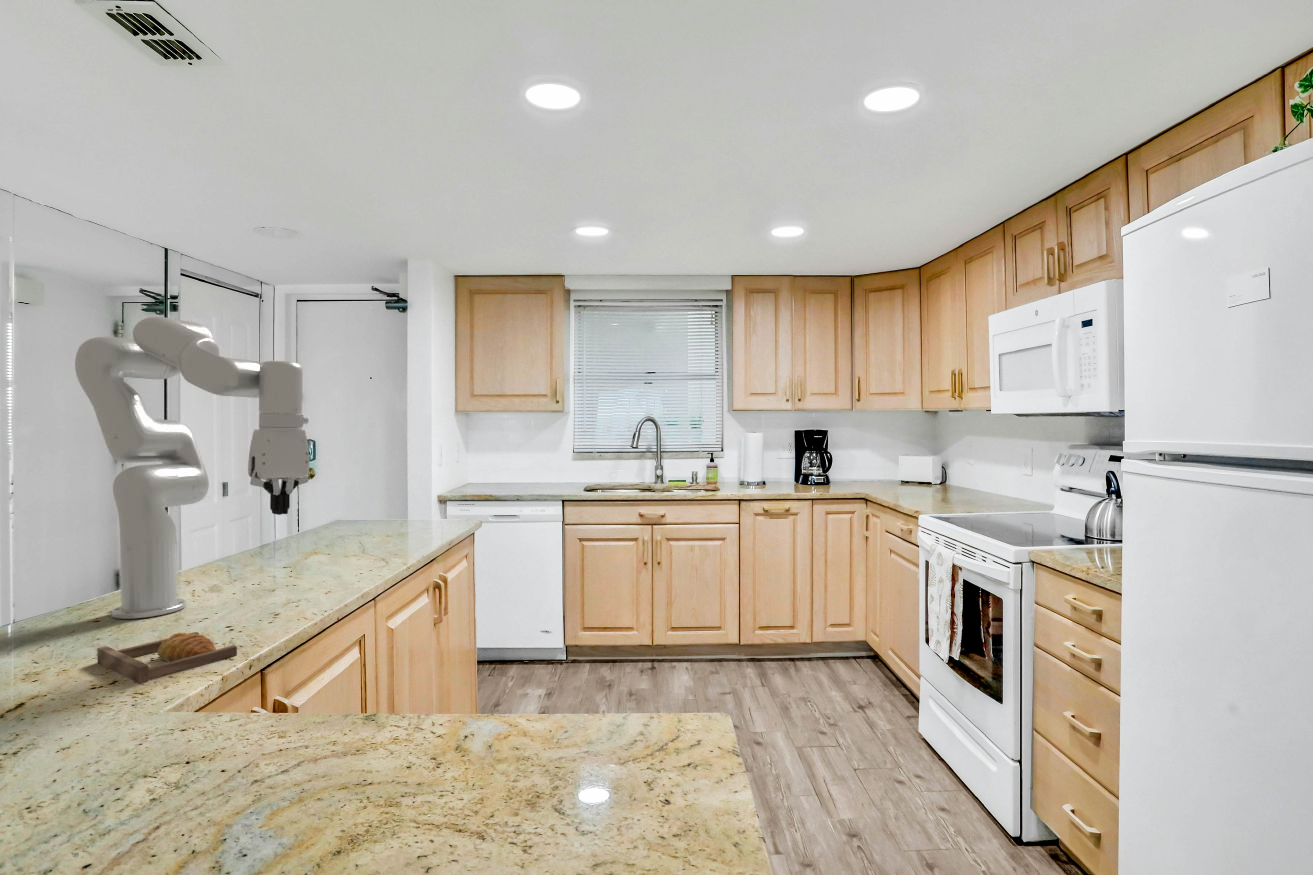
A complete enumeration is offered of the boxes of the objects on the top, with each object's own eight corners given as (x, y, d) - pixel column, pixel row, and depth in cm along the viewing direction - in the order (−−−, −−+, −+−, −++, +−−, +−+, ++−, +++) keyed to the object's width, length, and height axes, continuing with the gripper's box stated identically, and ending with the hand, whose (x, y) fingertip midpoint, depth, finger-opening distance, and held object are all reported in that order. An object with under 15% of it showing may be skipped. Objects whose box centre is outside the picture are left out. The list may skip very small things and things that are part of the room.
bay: (97, 662, 108) (97, 647, 108) (194, 639, 120) (193, 625, 120) (139, 683, 99) (139, 667, 99) (239, 655, 111) (238, 641, 111)
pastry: (227, 655, 112) (227, 633, 112) (186, 668, 106) (186, 646, 106) (193, 648, 116) (192, 627, 115) (151, 661, 109) (151, 639, 109)
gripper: (308, 423, 137) (307, 508, 138) (231, 422, 125) (230, 515, 125) (327, 423, 133) (326, 511, 134) (248, 422, 121) (248, 519, 121)
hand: (279, 513), depth 130 cm, fingers closed
